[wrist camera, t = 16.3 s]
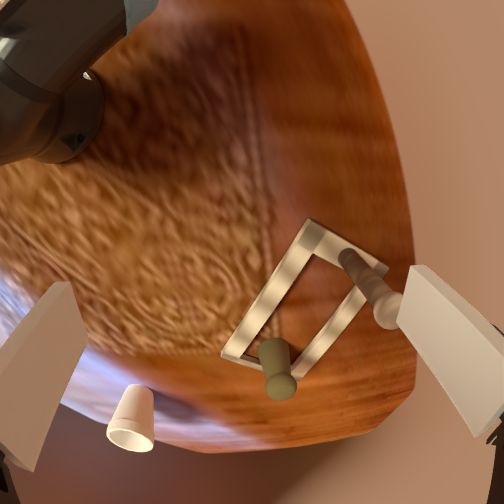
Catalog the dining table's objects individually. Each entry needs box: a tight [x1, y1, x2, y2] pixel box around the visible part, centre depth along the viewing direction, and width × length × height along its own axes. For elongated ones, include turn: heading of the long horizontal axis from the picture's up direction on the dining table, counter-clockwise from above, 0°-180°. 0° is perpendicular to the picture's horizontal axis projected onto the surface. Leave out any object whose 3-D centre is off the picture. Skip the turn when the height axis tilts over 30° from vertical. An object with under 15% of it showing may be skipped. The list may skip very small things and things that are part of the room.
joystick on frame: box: [221, 218, 403, 381], centre depth 41 cm, size 28×17×18 cm, turn 151°
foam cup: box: [107, 384, 155, 452], centre depth 49 cm, size 10×9×13 cm
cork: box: [257, 338, 297, 401], centre depth 47 cm, size 6×6×11 cm
